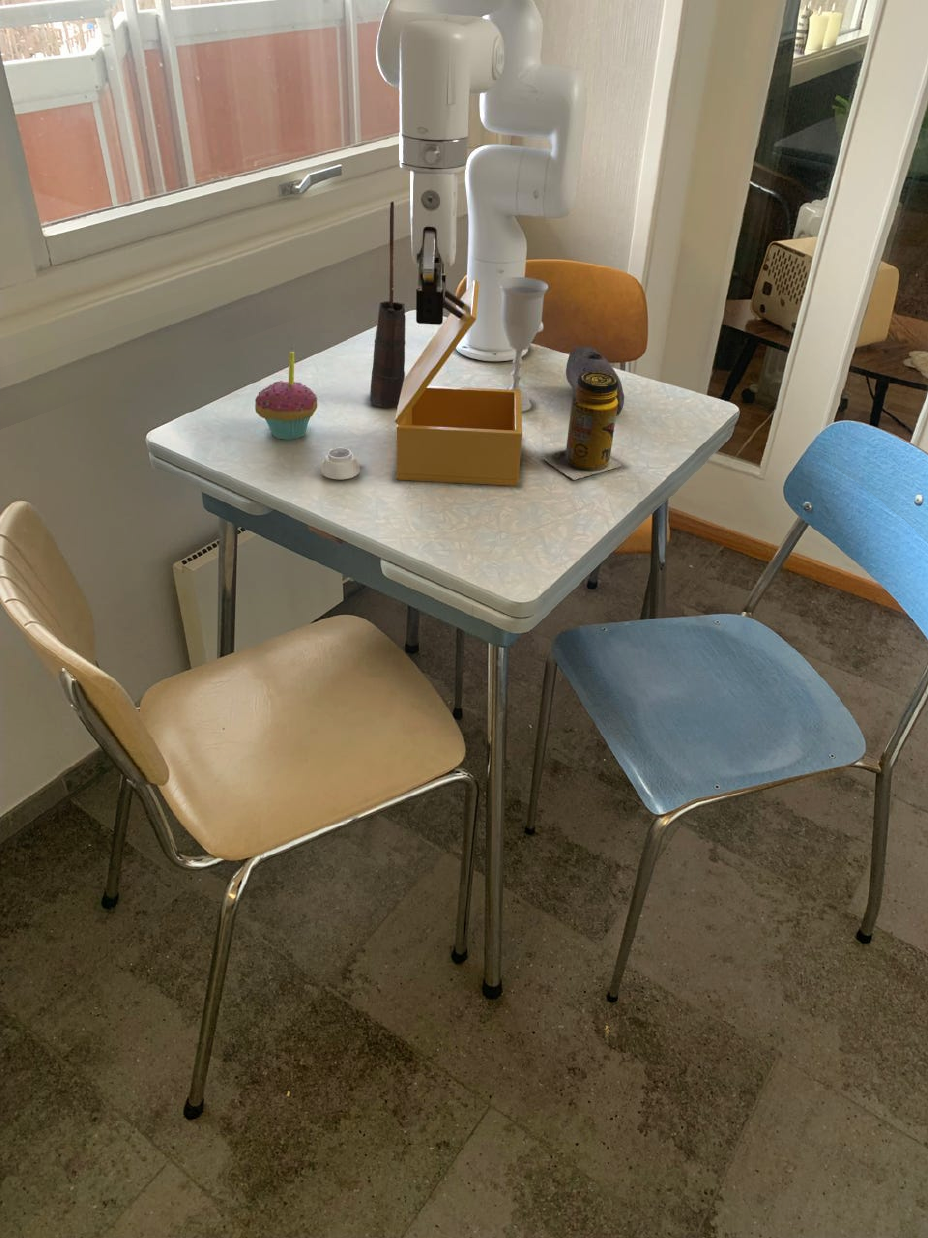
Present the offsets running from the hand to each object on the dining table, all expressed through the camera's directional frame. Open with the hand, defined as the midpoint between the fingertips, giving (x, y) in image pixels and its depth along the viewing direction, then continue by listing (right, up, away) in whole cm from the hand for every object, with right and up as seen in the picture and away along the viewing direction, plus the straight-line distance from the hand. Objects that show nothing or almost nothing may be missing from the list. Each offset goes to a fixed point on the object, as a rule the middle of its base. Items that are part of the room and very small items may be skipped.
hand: (430, 313), depth 113 cm
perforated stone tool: (+24, -5, +28) cm, 37 cm away
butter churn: (-7, -6, +25) cm, 27 cm away
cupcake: (-21, -12, +16) cm, 28 cm away
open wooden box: (+3, -16, +12) cm, 20 cm away
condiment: (+20, -17, +12) cm, 29 cm away
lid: (+1, -4, +3) cm, 5 cm away
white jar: (-12, -19, +7) cm, 23 cm away
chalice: (+12, -5, +27) cm, 30 cm away
